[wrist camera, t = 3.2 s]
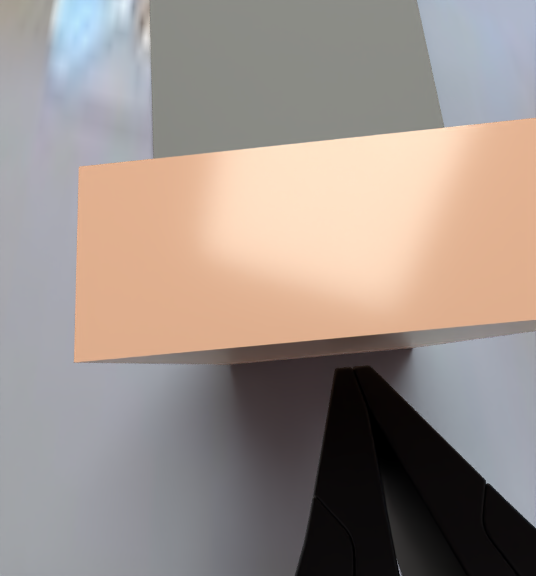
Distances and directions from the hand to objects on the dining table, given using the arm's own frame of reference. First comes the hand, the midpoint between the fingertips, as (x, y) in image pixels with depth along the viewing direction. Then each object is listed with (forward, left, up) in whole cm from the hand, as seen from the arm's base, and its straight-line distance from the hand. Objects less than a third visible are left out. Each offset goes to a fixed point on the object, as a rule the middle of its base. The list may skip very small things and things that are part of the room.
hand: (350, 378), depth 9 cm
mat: (+11, -6, -7) cm, 15 cm away
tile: (+2, -1, -7) cm, 7 cm away
